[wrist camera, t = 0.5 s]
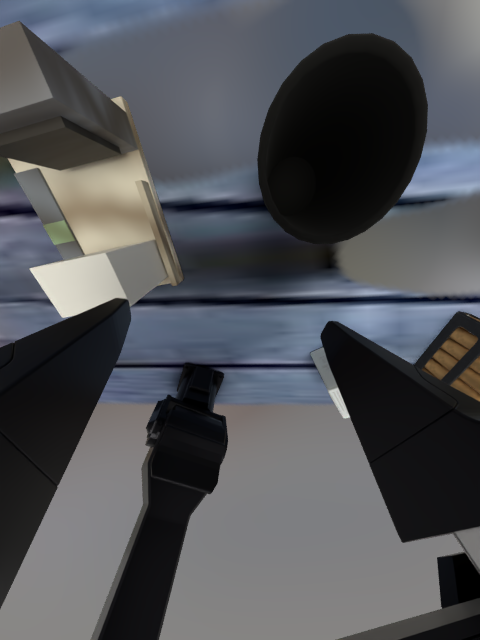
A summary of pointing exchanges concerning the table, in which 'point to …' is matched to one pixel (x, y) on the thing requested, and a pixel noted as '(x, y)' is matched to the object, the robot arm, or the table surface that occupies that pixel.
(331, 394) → the skincare box
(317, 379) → the table surface
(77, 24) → the table surface
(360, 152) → the cup
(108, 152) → the frame
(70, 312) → the gauge slider
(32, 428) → the robot arm
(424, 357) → the ammunition clip
